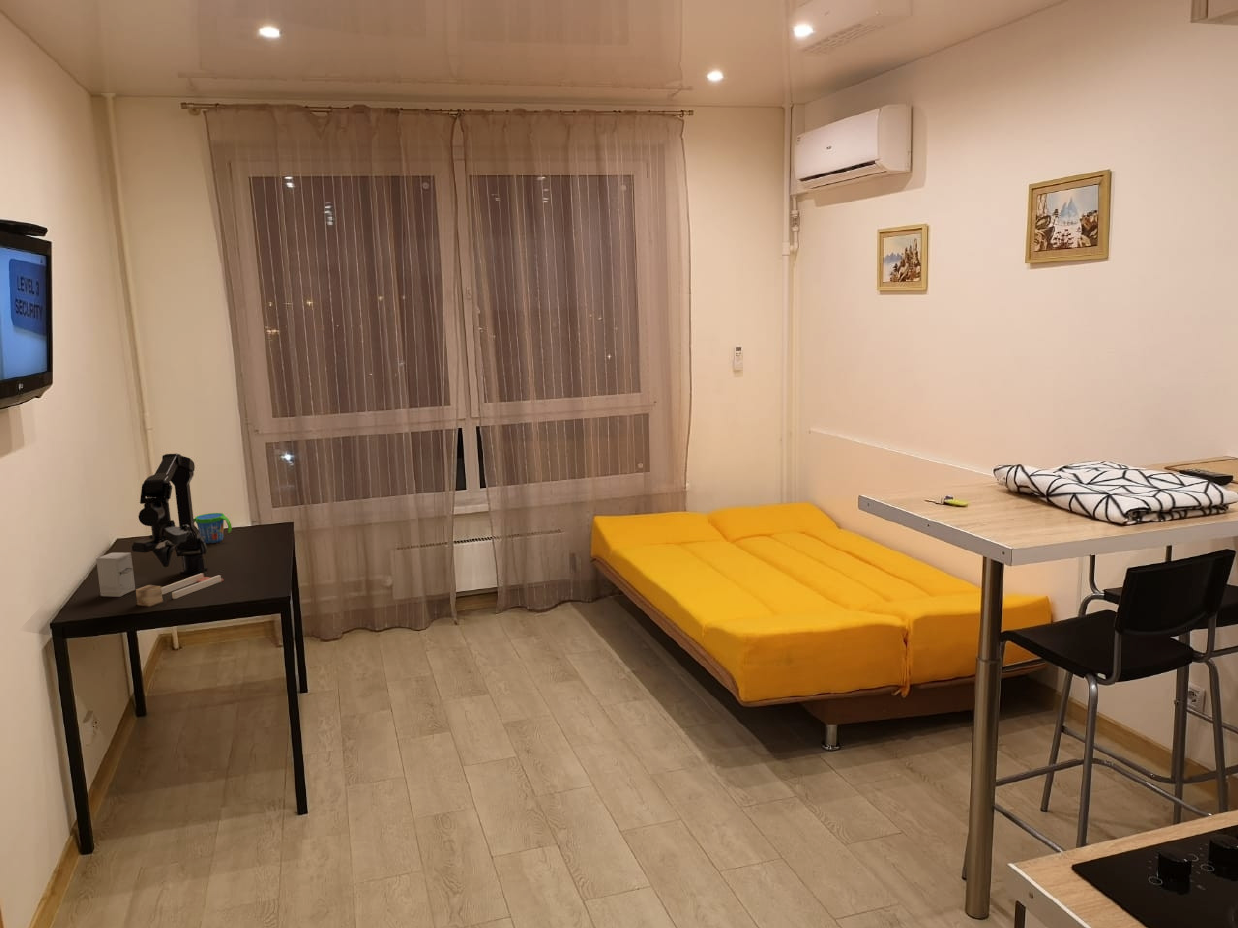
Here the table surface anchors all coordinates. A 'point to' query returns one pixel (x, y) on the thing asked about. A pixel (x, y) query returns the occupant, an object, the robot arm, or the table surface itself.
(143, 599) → the pine block
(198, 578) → the channel
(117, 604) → the table surface
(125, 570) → the supplement box
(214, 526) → the snack cup
